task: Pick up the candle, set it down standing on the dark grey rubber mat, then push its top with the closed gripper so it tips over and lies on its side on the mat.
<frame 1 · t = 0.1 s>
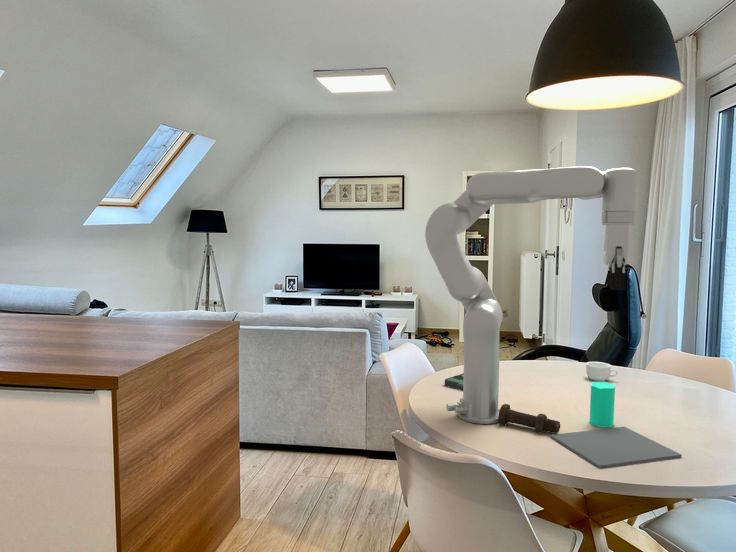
hand: (615, 287, 134), 37 cm above the table, tool pointing down, fingers open, 9 cm apart
bolt: (529, 430, 139), on the table
teacup: (601, 380, 184), on the table
candle: (601, 423, 143), on the table
mat: (612, 446, 128), on the table
disk drive: (469, 386, 179), on the table
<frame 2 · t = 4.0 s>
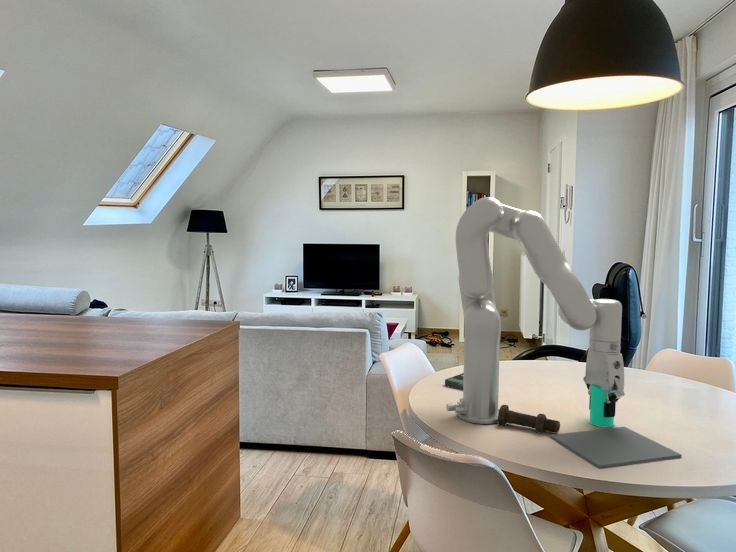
hand: (601, 412, 143), 3 cm above the table, tool pointing down, fingers closed on candle, 4 cm apart
candle: (601, 423, 143), on the table, touching gripper
everything else where it was.
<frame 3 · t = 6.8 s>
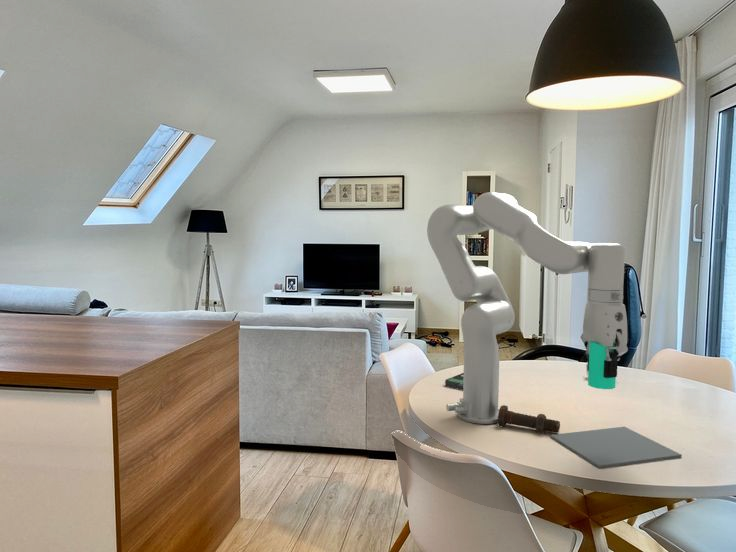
hand: (601, 373, 125), 18 cm above the table, tool pointing down, fingers closed on candle, 4 cm apart
candle: (601, 386, 125), point 15 cm above the table, touching gripper
everything else where it was.
when the fingers open (5 cm above the table, at t = 9.8 s): candle drops 1 cm, resting on mat.
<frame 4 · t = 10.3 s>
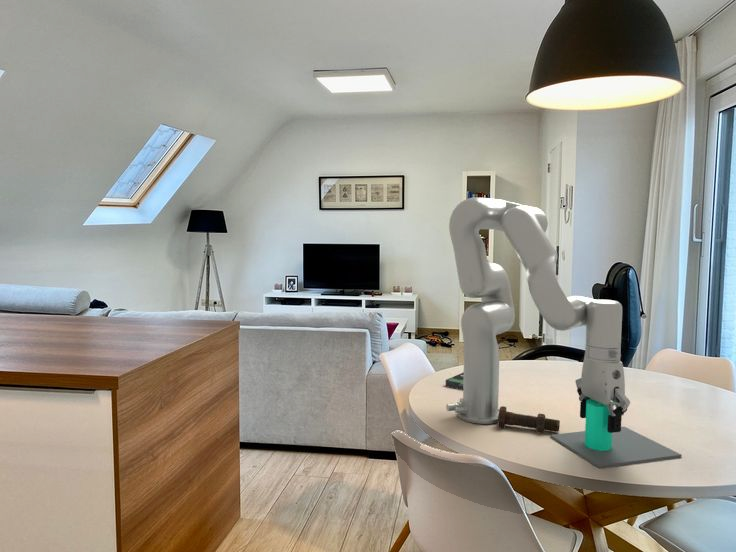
hand: (599, 424, 126), 6 cm above the table, tool pointing down, fingers open, 9 cm apart
candle: (597, 446, 127), resting on mat
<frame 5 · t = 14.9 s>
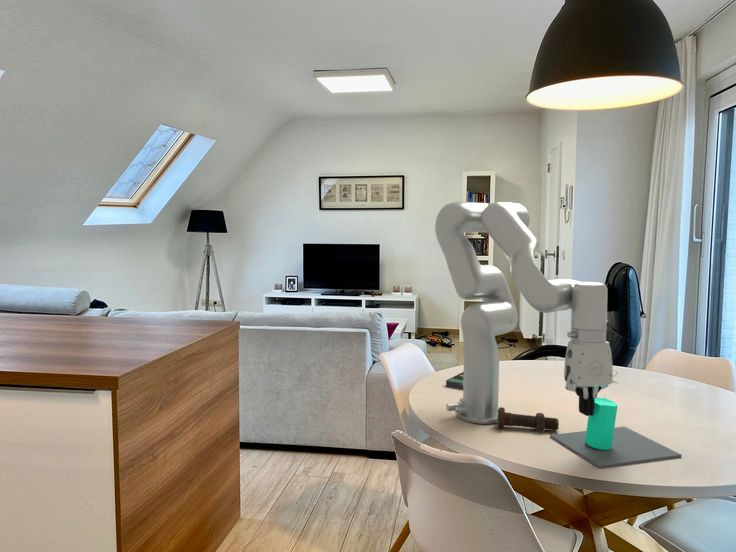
hand: (586, 413, 124), 9 cm above the table, tool pointing down, fingers closed
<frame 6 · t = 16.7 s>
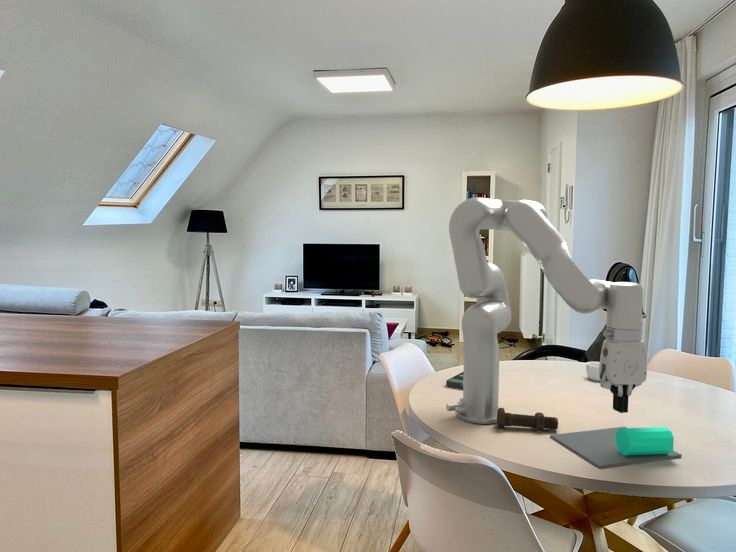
hand: (620, 410, 127), 9 cm above the table, tool pointing down, fingers closed
candle: (621, 441, 122), point 4 cm above the table, touching mat
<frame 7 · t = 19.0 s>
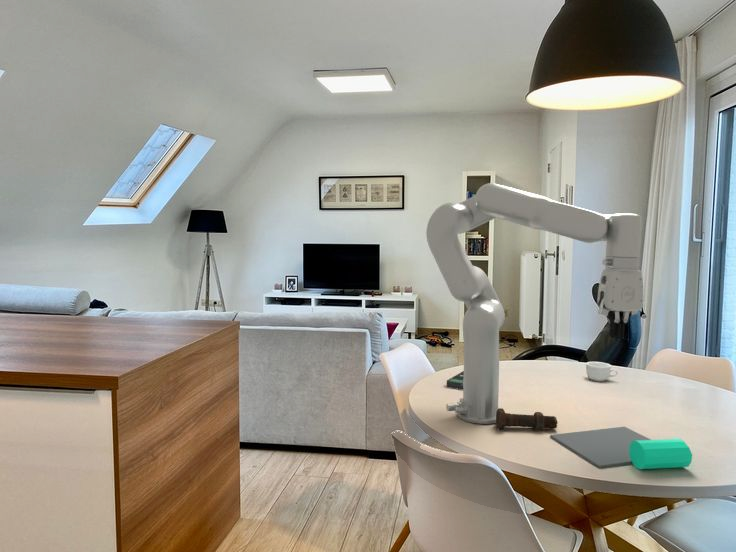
hand: (616, 337, 133), 25 cm above the table, tool pointing down, fingers closed
candle: (636, 454, 116), point 3 cm above the table
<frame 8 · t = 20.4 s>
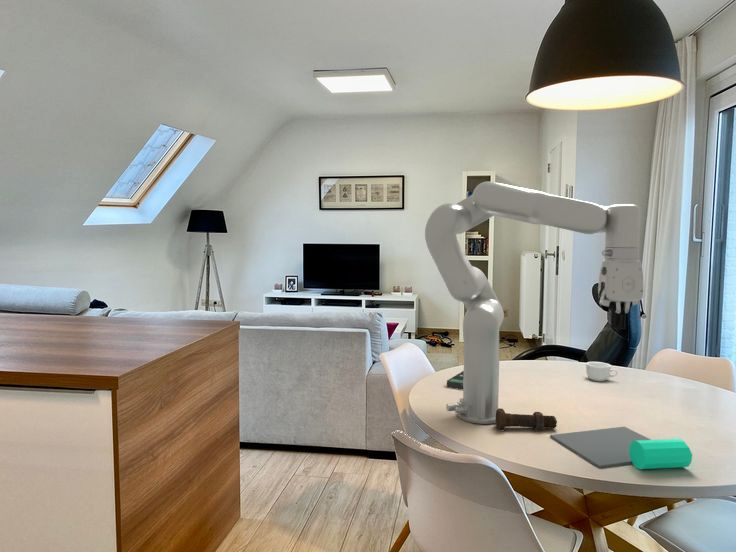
hand: (618, 328, 134), 27 cm above the table, tool pointing down, fingers closed
at the end: candle tilted 90°; candle inside the target area on the mat (11.7 cm from its centre), point 2.9 cm above the mat's base; the gripper is holding nothing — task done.
